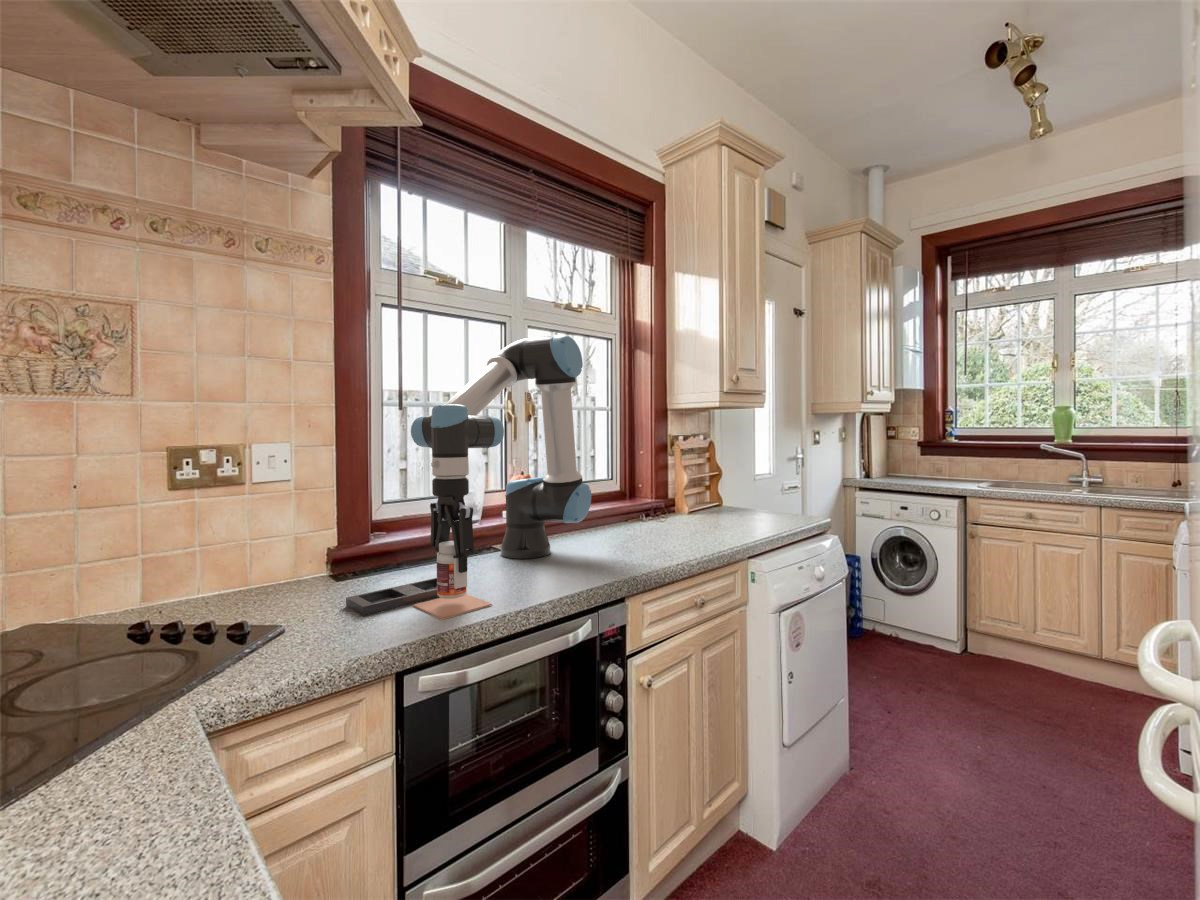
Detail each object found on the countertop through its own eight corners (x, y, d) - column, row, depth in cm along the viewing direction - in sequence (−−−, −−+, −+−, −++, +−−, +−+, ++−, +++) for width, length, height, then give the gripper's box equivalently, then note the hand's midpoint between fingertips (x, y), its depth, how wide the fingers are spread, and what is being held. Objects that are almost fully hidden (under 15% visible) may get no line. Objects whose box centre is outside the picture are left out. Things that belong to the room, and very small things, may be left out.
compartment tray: (446, 583, 134) (445, 575, 134) (465, 590, 128) (465, 582, 128) (346, 606, 117) (345, 597, 117) (363, 616, 111) (363, 606, 110)
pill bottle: (452, 601, 112) (451, 547, 112) (430, 596, 116) (430, 544, 115) (472, 593, 118) (472, 541, 117) (451, 589, 121) (451, 539, 120)
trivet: (461, 594, 125) (461, 592, 125) (492, 605, 117) (492, 603, 117) (413, 606, 117) (413, 604, 117) (441, 619, 108) (441, 617, 108)
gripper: (412, 475, 120) (414, 579, 121) (459, 480, 107) (460, 597, 107) (443, 473, 125) (444, 572, 126) (491, 478, 112) (492, 589, 113)
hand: (452, 583), depth 117 cm, fingers closed on pill bottle, 6 cm apart
